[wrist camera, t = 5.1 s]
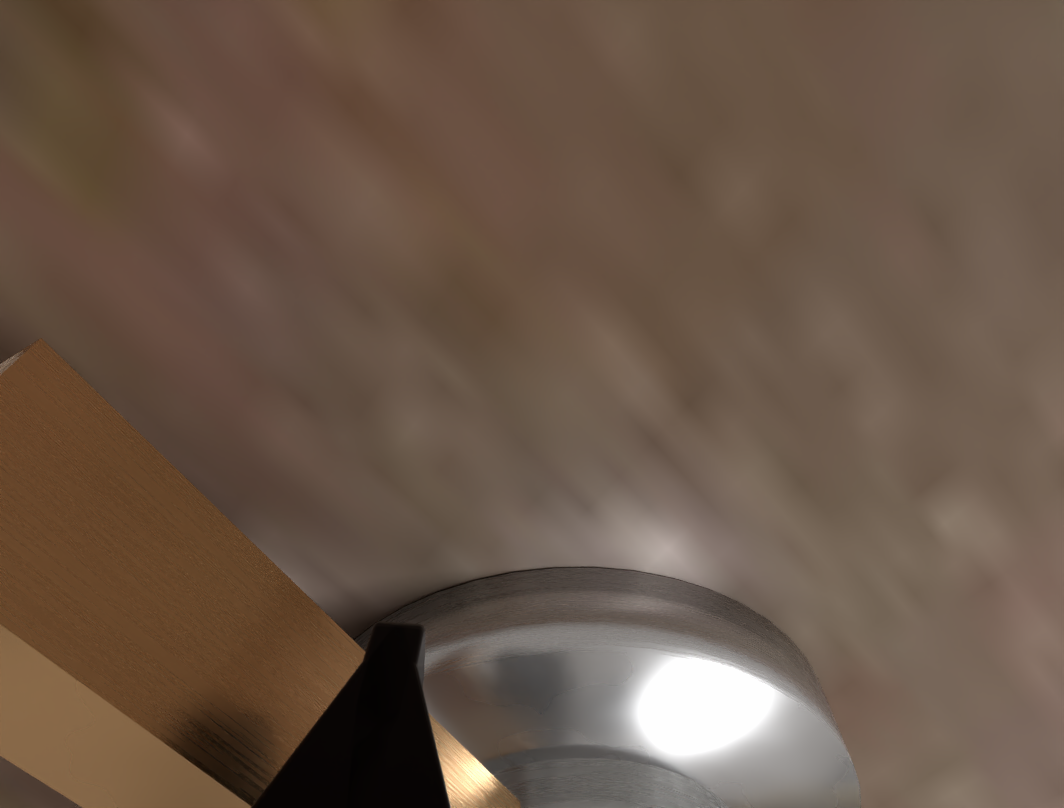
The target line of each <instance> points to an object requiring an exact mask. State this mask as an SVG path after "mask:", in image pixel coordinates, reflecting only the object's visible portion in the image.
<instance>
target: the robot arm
mask: <svg viewBox="0 0 1064 808" xmlns="http://www.w3.org/2000/svg"><path fill="white" fill-rule="evenodd" d="M424 666H425V628H424V626H423V625H421V624H414V623H400V622H386V621H378V622H376V623H375V624H374V626H373V628H372V631H371V635H370V638H369V641H368V645H367V648H366V652H365V655H364V658H363V661H362V663H361V664H360V665H359V667H358V668H357V669H356V671H355V672H354V673H353V675H352V676H351V677H350V678H349V680H348V681H347V682H346V684H345V685H344V686H343V688H342V689H341V690H340V692H339V693H338V694H337V696H336V697H335V698H334V699H333V701H332V702H331V703H330V705H329V706H328V707H327V709H326V710H325V711H324V713H323V714H322V715H321V716H320V718H319V719H318V720H317V722H316V723H315V724H314V726H313V727H312V728H311V730H310V731H309V732H308V734H307V735H306V736H305V737H304V739H303V740H302V741H301V743H300V744H299V745H298V747H297V748H296V749H295V751H294V752H293V753H292V755H291V756H290V757H289V758H288V760H287V761H286V762H285V764H284V765H283V766H282V768H281V769H280V770H279V772H278V773H277V774H276V775H275V777H274V778H273V779H272V781H271V782H270V783H269V785H268V786H267V787H266V789H265V790H264V791H263V793H262V794H261V795H260V796H259V798H258V799H257V800H256V802H255V803H254V804H253V806H252V807H251V808H451V806H450V802H449V798H448V793H447V789H446V785H445V781H444V776H443V772H442V768H441V764H440V759H439V755H438V751H437V747H436V743H435V738H434V734H433V730H432V726H431V721H430V717H429V713H428V709H427V704H426V700H425V696H424V692H423V681H424Z"/></svg>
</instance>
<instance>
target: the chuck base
mask: <svg viewBox="0 0 1064 808" xmlns="http://www.w3.org/2000/svg"><path fill="white" fill-rule="evenodd" d="M381 621H386V622H400V623H414V624H421V625H423V626H424V628H425V666H424V681H423V692H424V696H425V700H426V704H427V709H428V713H429V714H430V715H431V716H432V717H433V718H434V719H435V720H436V721H437V722H438V723H439V724H440V725H442V726H443V727H444V728H445V729H446V730H447V731H448V732H449V733H450V734H451V735H452V736H453V737H454V738H455V739H456V740H457V741H458V742H459V743H460V744H461V745H462V746H463V747H464V748H465V749H466V750H467V751H468V752H469V753H470V754H472V755H473V756H474V757H475V758H476V759H477V760H478V761H479V762H480V763H481V764H482V765H483V766H484V767H485V768H486V769H487V770H488V771H489V772H490V773H492V772H495V771H498V770H501V769H504V768H508V767H513V766H517V765H522V764H526V763H532V762H539V761H546V760H553V759H568V758H605V759H615V760H625V761H631V762H637V763H642V764H647V765H652V766H655V767H659V768H662V769H666V770H669V771H672V772H674V773H677V774H679V775H682V776H684V777H687V778H689V779H691V780H693V781H695V782H697V783H698V784H700V785H702V786H704V787H706V788H707V789H708V790H710V791H711V792H712V793H714V794H715V795H716V796H718V797H719V798H720V799H721V800H722V801H723V802H724V803H725V804H726V805H727V807H728V808H861V797H860V785H859V782H858V778H857V775H856V772H855V768H854V765H853V762H852V760H851V758H850V755H849V753H848V750H847V748H846V745H845V743H844V741H843V738H842V736H841V733H840V731H839V728H838V726H837V723H836V721H835V719H834V716H833V714H832V711H831V709H830V706H829V704H828V701H827V699H826V697H825V694H824V692H823V689H822V687H821V684H820V682H819V680H818V678H817V676H816V674H815V672H814V670H813V669H812V667H811V665H810V663H809V661H808V660H807V658H806V657H805V656H804V654H803V653H802V652H801V651H800V650H799V648H798V647H797V646H796V645H795V644H794V643H793V641H792V640H791V639H790V638H789V637H788V636H787V635H785V634H784V633H783V632H782V631H781V630H780V629H778V628H777V627H776V626H775V625H774V624H772V623H771V622H770V621H769V620H768V619H766V618H764V617H763V616H761V615H759V614H758V613H756V612H755V611H753V610H751V609H750V608H748V607H746V606H745V605H743V604H741V603H739V602H737V601H735V600H733V599H730V598H728V597H726V596H724V595H721V594H719V593H717V592H715V591H712V590H710V589H707V588H704V587H700V586H697V585H694V584H691V583H687V582H684V581H681V580H678V579H674V578H669V577H664V576H659V575H653V574H648V573H643V572H638V571H628V570H616V569H605V568H552V569H543V570H534V571H524V572H515V573H510V574H505V575H500V576H495V577H490V578H486V579H481V580H476V581H472V582H469V583H466V584H463V585H460V586H456V587H453V588H450V589H447V590H444V591H441V592H437V593H435V594H433V595H430V596H428V597H426V598H424V599H421V600H419V601H417V602H415V603H412V604H410V605H408V606H405V607H403V608H401V609H400V610H398V611H396V612H395V613H393V614H391V615H390V616H388V617H386V618H384V619H383V620H381ZM373 626H374V625H373ZM373 626H372V627H370V628H369V629H368V630H366V631H365V632H364V633H363V634H361V635H360V636H359V637H357V638H356V639H355V640H354V641H355V642H356V643H357V644H358V645H359V646H360V647H361V648H362V649H363V650H364V651H365V652H366V648H367V645H368V641H369V638H370V635H371V631H372V628H373Z"/></svg>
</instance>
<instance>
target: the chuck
mask: <svg viewBox="0 0 1064 808" xmlns="http://www.w3.org/2000/svg"><path fill="white" fill-rule="evenodd" d="M364 655H365V651H364V650H363V649H362V648H361V647H360V646H359V645H358V644H357V643H356V642H355V641H354V640H353V639H352V638H351V637H350V636H348V635H347V634H346V633H345V632H344V631H343V630H342V629H341V628H340V627H339V626H338V625H337V624H336V623H335V622H334V621H333V620H332V619H331V618H330V617H329V616H328V615H327V614H326V613H325V612H324V611H323V610H322V609H321V608H320V607H319V606H317V605H316V604H315V603H314V602H313V601H312V600H311V599H310V598H309V597H308V596H307V595H306V594H305V593H304V592H303V591H302V590H301V589H300V588H299V587H298V586H297V585H296V584H295V583H294V582H293V581H292V580H291V579H290V578H289V577H287V576H286V575H285V574H284V573H283V572H282V571H281V570H280V569H279V568H278V567H277V566H276V565H275V564H274V563H273V562H272V561H271V560H270V559H269V558H268V557H267V556H266V555H265V554H264V553H263V552H262V551H261V550H260V549H259V548H258V547H256V546H255V545H254V544H253V543H252V542H251V541H250V540H249V539H248V538H247V537H246V536H245V535H244V534H243V533H242V532H241V531H240V530H239V529H238V528H237V527H236V526H235V525H234V524H233V523H232V522H231V521H230V520H229V519H228V518H226V517H225V516H224V515H223V514H222V513H221V512H220V511H219V510H218V509H217V508H216V507H215V506H214V505H213V504H212V503H211V502H210V501H209V500H208V499H207V498H206V497H205V496H204V495H203V494H202V493H201V492H200V491H199V490H198V489H197V488H195V487H194V486H193V485H192V484H191V483H190V482H189V481H188V480H187V479H186V478H185V477H184V476H183V475H182V474H181V473H180V472H179V471H178V470H177V469H176V468H175V467H174V466H173V465H172V464H171V463H170V462H169V461H168V460H167V459H165V458H164V457H163V456H162V455H161V454H160V453H159V452H158V451H157V450H156V449H155V448H154V447H153V446H152V445H151V444H150V443H149V442H148V441H147V440H146V439H145V438H144V437H143V436H142V435H141V434H140V433H139V432H138V431H137V430H136V429H134V428H133V427H132V426H131V425H130V424H129V423H128V422H127V421H126V420H125V419H124V418H123V417H122V416H121V415H120V414H119V413H118V412H117V411H116V410H115V409H114V408H113V407H112V406H111V405H110V404H109V403H108V402H107V401H106V400H104V399H103V398H102V397H101V396H100V395H99V394H98V393H97V392H96V391H95V390H94V389H93V388H92V387H91V386H90V385H89V384H88V383H87V382H86V381H85V380H84V379H83V378H82V377H81V376H80V375H79V374H78V373H77V372H76V371H75V370H73V369H72V368H71V367H70V366H69V365H68V364H67V363H66V362H65V361H64V360H63V359H62V358H61V357H60V356H59V355H58V354H57V353H56V352H55V351H54V350H53V349H52V348H51V347H50V346H49V345H48V344H47V343H46V342H45V341H43V340H42V339H41V338H40V339H39V340H37V341H36V342H34V343H33V344H31V345H29V346H28V347H26V348H25V349H23V350H22V351H20V352H18V353H17V354H15V355H14V356H12V357H10V358H9V359H7V360H6V361H4V362H3V363H1V364H0V756H1V757H3V758H5V759H6V760H8V761H9V762H11V763H12V764H14V765H16V766H17V767H19V768H20V769H22V770H24V771H25V772H27V773H28V774H30V775H32V776H33V777H35V778H36V779H38V780H40V781H41V782H43V783H44V784H46V785H48V786H49V787H51V788H52V789H54V790H55V791H57V792H59V793H60V794H62V795H63V796H65V797H67V798H68V799H70V800H71V801H73V802H75V803H76V804H78V805H79V806H81V807H83V808H251V807H252V806H253V804H254V803H255V802H256V800H257V799H258V798H259V796H260V795H261V794H262V793H263V791H264V790H265V789H266V787H267V786H268V785H269V783H270V782H271V781H272V779H273V778H274V777H275V775H276V774H277V773H278V772H279V770H280V769H281V768H282V766H283V765H284V764H285V762H286V761H287V760H288V758H289V757H290V756H291V755H292V753H293V752H294V751H295V749H296V748H297V747H298V745H299V744H300V743H301V741H302V740H303V739H304V737H305V736H306V735H307V734H308V732H309V731H310V730H311V728H312V727H313V726H314V724H315V723H316V722H317V720H318V719H319V718H320V716H321V715H322V714H323V713H324V711H325V710H326V709H327V707H328V706H329V705H330V703H331V702H332V701H333V699H334V698H335V697H336V696H337V694H338V693H339V692H340V690H341V689H342V688H343V686H344V685H345V684H346V682H347V681H348V680H349V678H350V677H351V676H352V675H353V673H354V672H355V671H356V669H357V668H358V667H359V665H360V664H361V663H362V661H363V658H364ZM429 717H430V721H431V726H432V730H433V734H434V738H435V743H436V747H437V751H438V755H439V759H440V764H441V768H442V772H443V776H444V781H445V785H446V789H447V793H448V798H449V802H450V806H451V808H728V807H727V805H726V804H725V803H724V802H723V801H722V800H721V799H720V798H719V797H718V796H716V795H715V794H714V793H712V792H711V791H710V790H708V789H707V788H706V787H704V786H702V785H700V784H698V783H697V782H695V781H693V780H691V779H689V778H687V777H684V776H682V775H679V774H677V773H674V772H672V771H669V770H666V769H662V768H659V767H655V766H652V765H647V764H642V763H637V762H631V761H625V760H615V759H605V758H568V759H553V760H546V761H539V762H532V763H526V764H522V765H517V766H513V767H508V768H504V769H501V770H498V771H495V772H492V773H490V772H489V771H488V770H487V769H486V768H485V767H484V766H483V765H482V764H481V763H480V762H479V761H478V760H477V759H476V758H475V757H474V756H473V755H472V754H470V753H469V752H468V751H467V750H466V749H465V748H464V747H463V746H462V745H461V744H460V743H459V742H458V741H457V740H456V739H455V738H454V737H453V736H452V735H451V734H450V733H449V732H448V731H447V730H446V729H445V728H444V727H443V726H442V725H440V724H439V723H438V722H437V721H436V720H435V719H434V718H433V717H432V716H431V715H430V714H429Z"/></svg>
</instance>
